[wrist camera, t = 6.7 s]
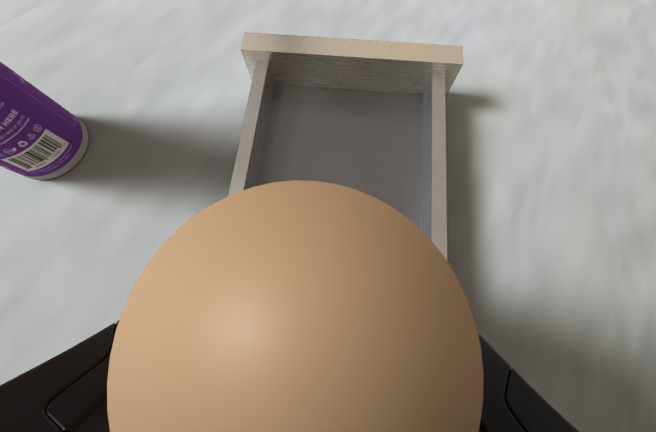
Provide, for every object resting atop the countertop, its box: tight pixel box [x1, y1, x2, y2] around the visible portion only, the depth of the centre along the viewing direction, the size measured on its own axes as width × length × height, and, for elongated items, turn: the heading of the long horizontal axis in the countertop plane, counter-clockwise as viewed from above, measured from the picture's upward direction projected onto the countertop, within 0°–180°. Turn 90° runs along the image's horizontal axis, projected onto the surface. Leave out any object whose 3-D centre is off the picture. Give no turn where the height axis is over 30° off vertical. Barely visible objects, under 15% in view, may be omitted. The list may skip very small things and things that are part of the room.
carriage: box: [107, 180, 484, 432], centre depth 9 cm, size 6×9×12 cm
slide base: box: [228, 32, 463, 262], centre depth 15 cm, size 21×12×4 cm, turn 174°
